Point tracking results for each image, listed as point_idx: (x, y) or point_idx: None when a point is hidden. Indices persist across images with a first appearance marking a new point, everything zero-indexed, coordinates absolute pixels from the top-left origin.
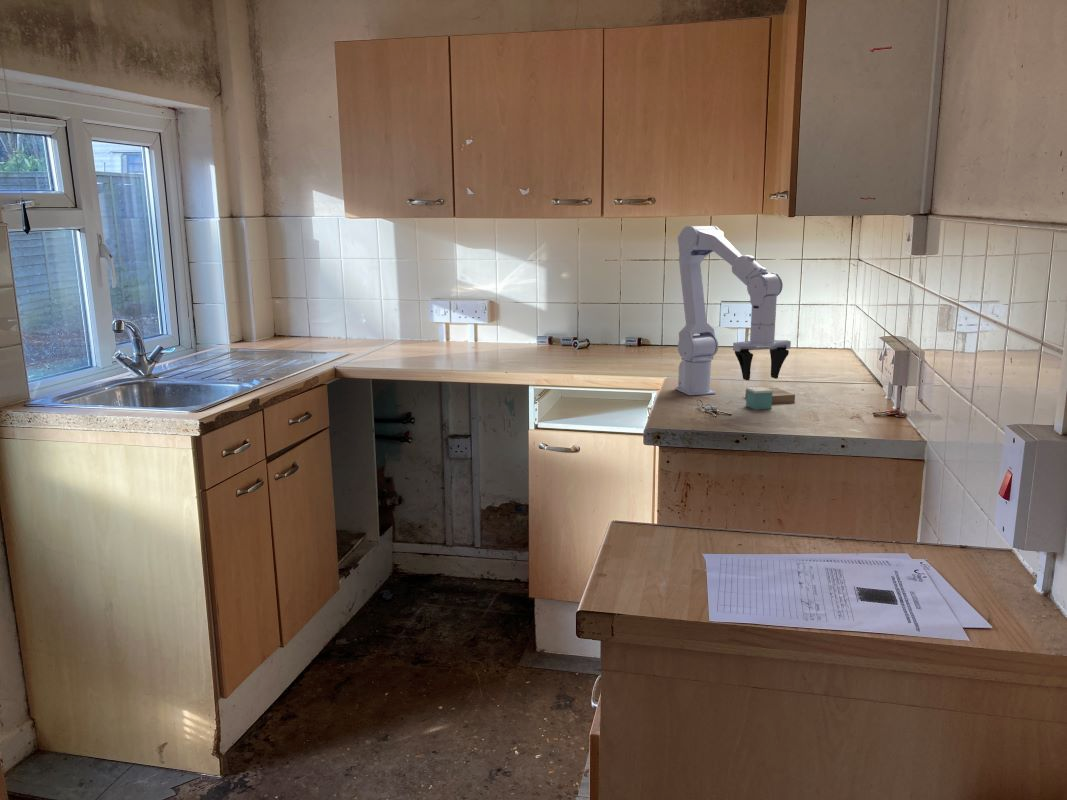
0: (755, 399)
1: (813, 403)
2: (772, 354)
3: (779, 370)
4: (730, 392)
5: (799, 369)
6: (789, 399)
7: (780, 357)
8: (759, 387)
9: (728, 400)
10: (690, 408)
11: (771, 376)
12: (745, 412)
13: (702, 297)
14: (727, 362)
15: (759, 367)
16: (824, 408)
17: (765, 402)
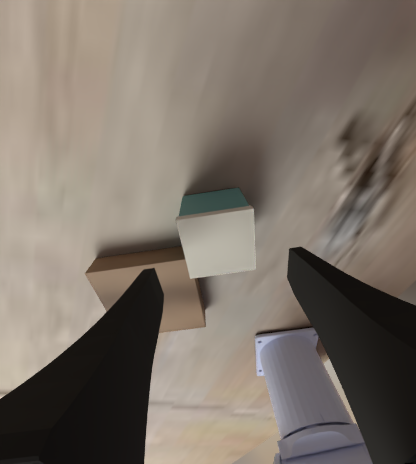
0: (244, 199)
1: (41, 247)
2: (135, 432)
3: (124, 294)
4: (217, 344)
5: None
6: (107, 262)
7: (86, 371)
8: (208, 268)
9: (255, 290)
10: (396, 226)
11: (162, 295)
12: (280, 160)
13: None
14: (152, 461)
15: None
16: (7, 184)
17: (204, 199)
